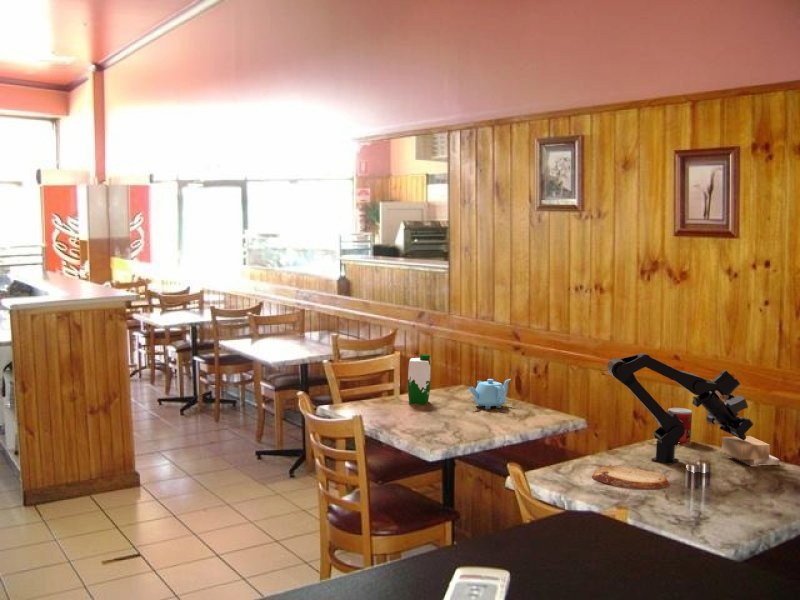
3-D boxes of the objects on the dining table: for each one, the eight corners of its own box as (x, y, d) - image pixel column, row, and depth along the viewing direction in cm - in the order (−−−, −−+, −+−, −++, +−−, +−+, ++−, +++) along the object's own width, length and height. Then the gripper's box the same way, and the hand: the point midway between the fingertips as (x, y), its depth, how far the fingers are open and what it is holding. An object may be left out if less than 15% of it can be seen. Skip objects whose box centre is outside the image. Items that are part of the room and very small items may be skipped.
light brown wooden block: (741, 445, 272) (770, 444, 273) (722, 436, 282) (750, 436, 284) (740, 459, 272) (769, 458, 274) (721, 450, 283) (749, 449, 285)
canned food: (691, 444, 298) (693, 413, 297) (667, 442, 299) (669, 411, 298) (688, 438, 305) (690, 408, 304) (665, 437, 307) (667, 407, 306)
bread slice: (674, 486, 251) (675, 473, 250) (629, 495, 242) (630, 482, 241) (629, 470, 266) (629, 458, 266) (585, 477, 257) (585, 465, 257)
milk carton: (428, 405, 351) (429, 356, 349) (406, 404, 352) (407, 355, 350) (430, 400, 359) (431, 353, 357) (409, 399, 361) (410, 352, 359)
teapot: (477, 401, 361) (478, 374, 360) (510, 404, 356) (510, 377, 355) (467, 408, 347) (468, 380, 345) (500, 412, 342) (501, 383, 341)
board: (750, 466, 272) (750, 460, 272) (727, 455, 285) (728, 449, 284) (779, 465, 274) (779, 459, 273) (755, 454, 286) (755, 448, 286)
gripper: (749, 394, 266) (779, 428, 269) (716, 382, 284) (745, 414, 287) (724, 419, 265) (754, 453, 268) (693, 406, 284) (722, 438, 287)
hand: (744, 439), depth 278 cm, fingers closed
